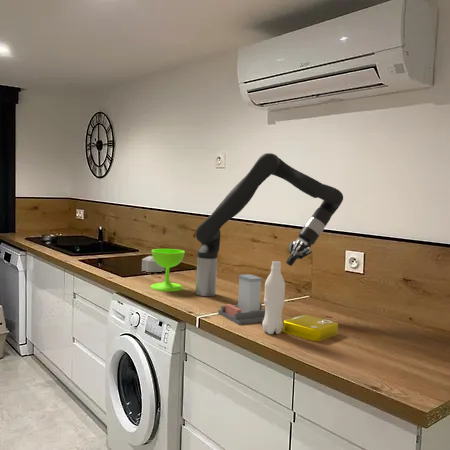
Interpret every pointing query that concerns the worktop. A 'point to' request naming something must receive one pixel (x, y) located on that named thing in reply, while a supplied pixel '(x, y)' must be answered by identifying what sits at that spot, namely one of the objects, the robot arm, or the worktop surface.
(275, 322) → the water bottle
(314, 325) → the element tile
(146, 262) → the lumpy-topped squat cylinder
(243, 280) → the grey tall block
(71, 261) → the worktop surface
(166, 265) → the wineglass
